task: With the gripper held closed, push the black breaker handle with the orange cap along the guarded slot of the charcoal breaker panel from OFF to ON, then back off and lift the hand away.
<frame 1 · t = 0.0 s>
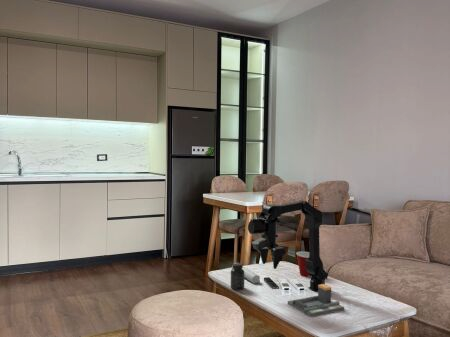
hand: (269, 266, 189), 15 cm above the table, tool pointing down, fingers open, 9 cm apart
supplement bottle: (237, 288, 202), on the table
breaker panel: (315, 306, 179), on the table
plastic cup: (305, 275, 226), on the table
breaker handle: (324, 293, 181), point 5 cm above the table, slide at 0.0 cm
tube: (246, 278, 221), on the table
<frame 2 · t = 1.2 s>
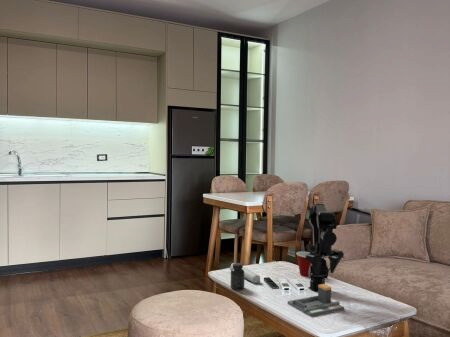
hand: (324, 274, 184), 12 cm above the table, tool pointing down, fingers open, 9 cm apart
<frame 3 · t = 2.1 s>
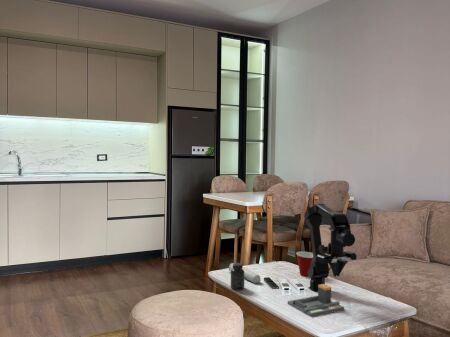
hand: (336, 276, 184), 12 cm above the table, tool pointing down, fingers closed
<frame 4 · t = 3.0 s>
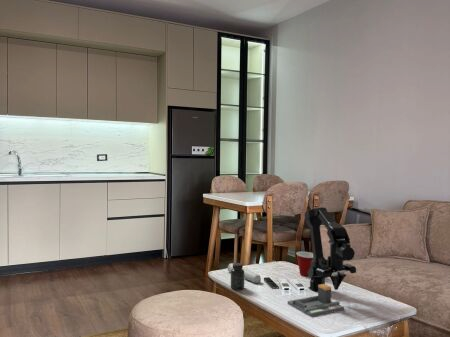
hand: (335, 289, 184), 6 cm above the table, tool pointing down, fingers closed
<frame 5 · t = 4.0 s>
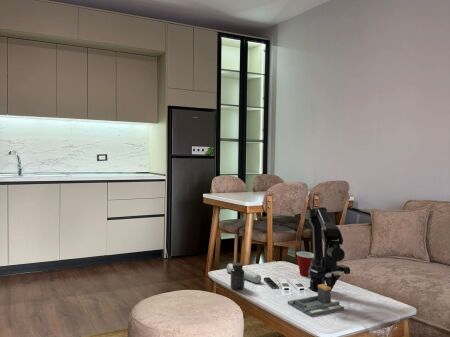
hand: (329, 290, 182), 6 cm above the table, tool pointing down, fingers closed
breaker handle: (324, 293, 181), point 5 cm above the table, slide at 0.2 cm, touching gripper
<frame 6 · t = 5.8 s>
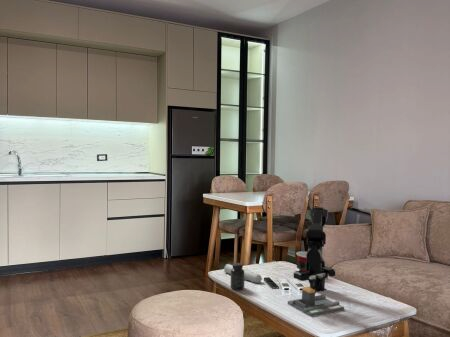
hand: (314, 293, 178), 6 cm above the table, tool pointing down, fingers closed
breaker handle: (308, 296, 177), point 5 cm above the table, slide at 8.8 cm, touching gripper
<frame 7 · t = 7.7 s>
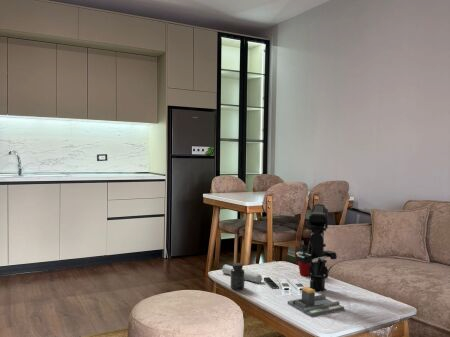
hand: (316, 275, 185), 12 cm above the table, tool pointing down, fingers closed
breaker handle: (308, 296, 177), point 5 cm above the table, slide at 9.0 cm
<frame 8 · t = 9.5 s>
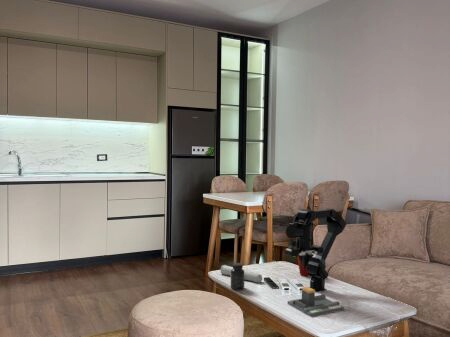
hand: (304, 268, 195), 12 cm above the table, tool pointing down, fingers closed
at the end: breaker handle slide at 9.0 cm; supplement bottle moved 0.2 cm from its start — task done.
